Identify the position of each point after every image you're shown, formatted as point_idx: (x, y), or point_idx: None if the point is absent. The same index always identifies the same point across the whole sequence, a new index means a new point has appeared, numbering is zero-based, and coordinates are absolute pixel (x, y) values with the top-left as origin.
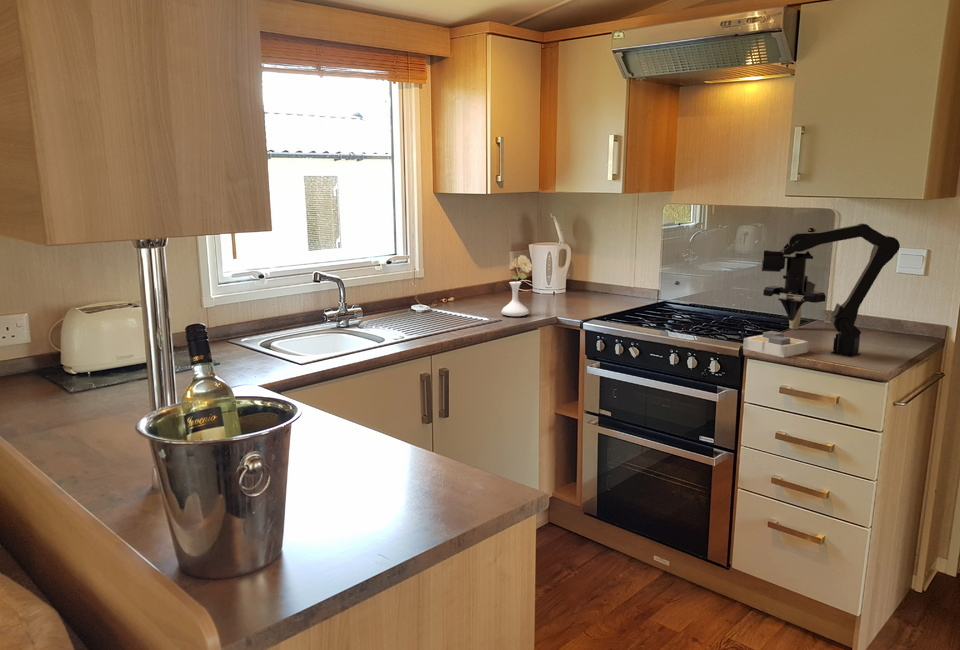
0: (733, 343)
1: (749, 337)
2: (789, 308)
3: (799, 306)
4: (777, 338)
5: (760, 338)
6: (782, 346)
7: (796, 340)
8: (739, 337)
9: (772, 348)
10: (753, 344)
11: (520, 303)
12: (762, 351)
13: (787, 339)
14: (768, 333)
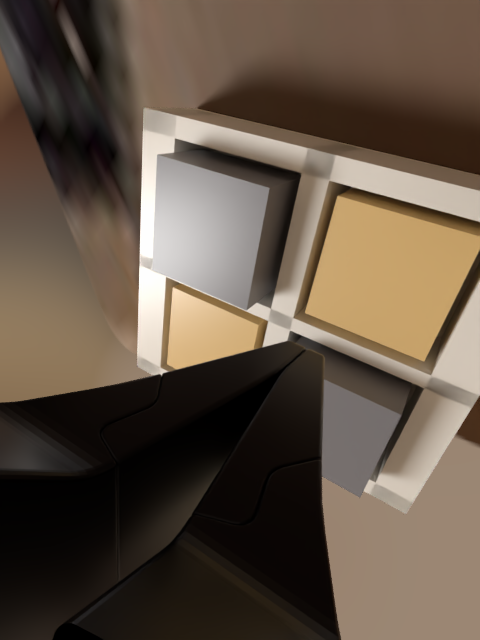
0: (93, 241)
1: (142, 330)
2: (171, 528)
3: (307, 595)
4: None
5: (191, 323)
6: (388, 501)
7: (433, 245)
8: (18, 40)
9: None
10: None
11: None
12: None
13: (386, 441)
14: (193, 286)
